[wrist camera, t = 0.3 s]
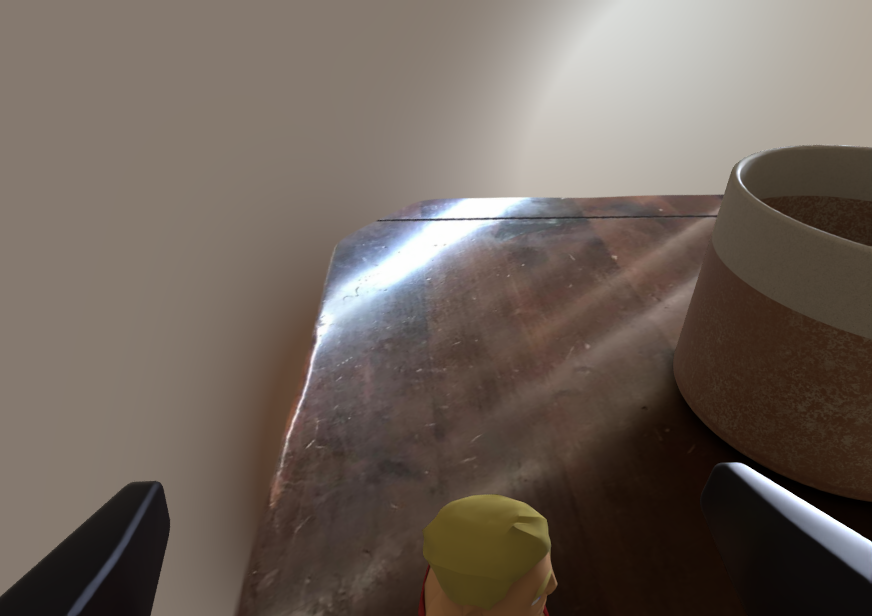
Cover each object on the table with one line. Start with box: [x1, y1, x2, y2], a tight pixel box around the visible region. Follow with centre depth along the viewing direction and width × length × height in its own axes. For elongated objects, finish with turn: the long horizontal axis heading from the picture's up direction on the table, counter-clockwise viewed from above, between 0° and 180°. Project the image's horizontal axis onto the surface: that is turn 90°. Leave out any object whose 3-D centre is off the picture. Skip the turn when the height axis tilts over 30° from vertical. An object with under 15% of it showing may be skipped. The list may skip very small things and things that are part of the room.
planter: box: [673, 145, 872, 502], centre depth 30 cm, size 16×16×14 cm
